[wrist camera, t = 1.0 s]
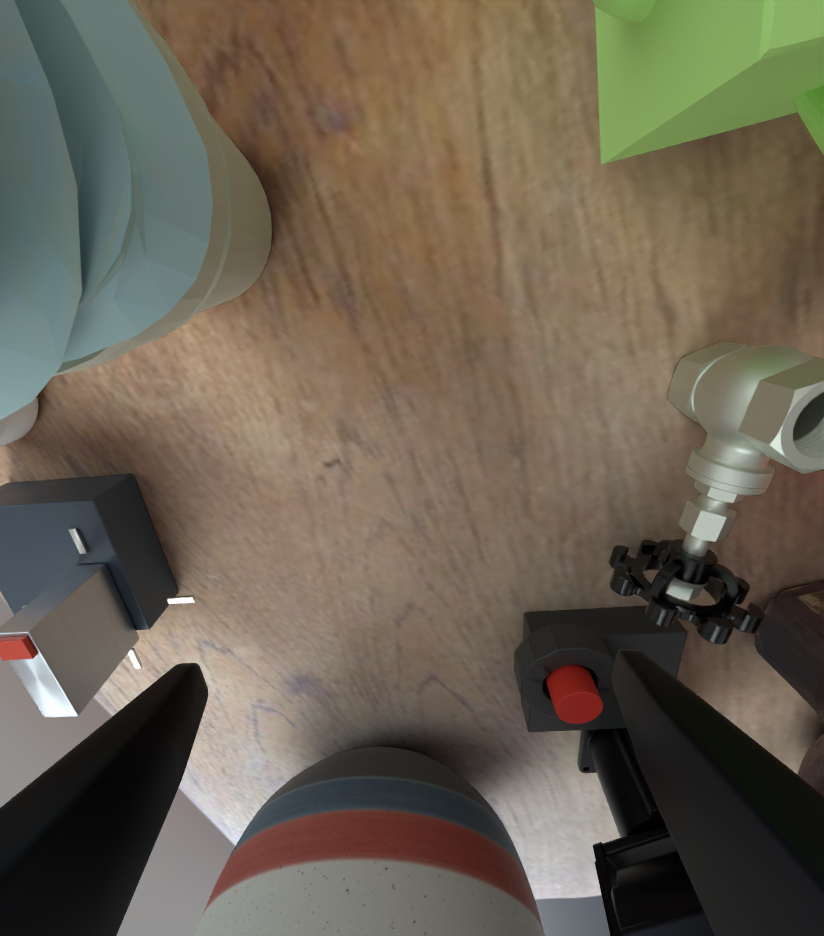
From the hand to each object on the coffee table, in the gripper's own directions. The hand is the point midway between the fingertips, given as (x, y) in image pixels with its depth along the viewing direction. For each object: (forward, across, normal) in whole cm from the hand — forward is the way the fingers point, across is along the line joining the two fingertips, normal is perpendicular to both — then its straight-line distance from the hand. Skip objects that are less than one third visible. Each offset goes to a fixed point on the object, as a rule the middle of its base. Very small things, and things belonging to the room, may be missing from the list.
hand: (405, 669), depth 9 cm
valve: (+14, -14, +1) cm, 19 cm away
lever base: (+13, +17, +6) cm, 22 cm away
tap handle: (+10, +16, +7) cm, 20 cm away
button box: (+14, -11, +15) cm, 23 cm away
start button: (+10, -8, +13) cm, 18 cm away
